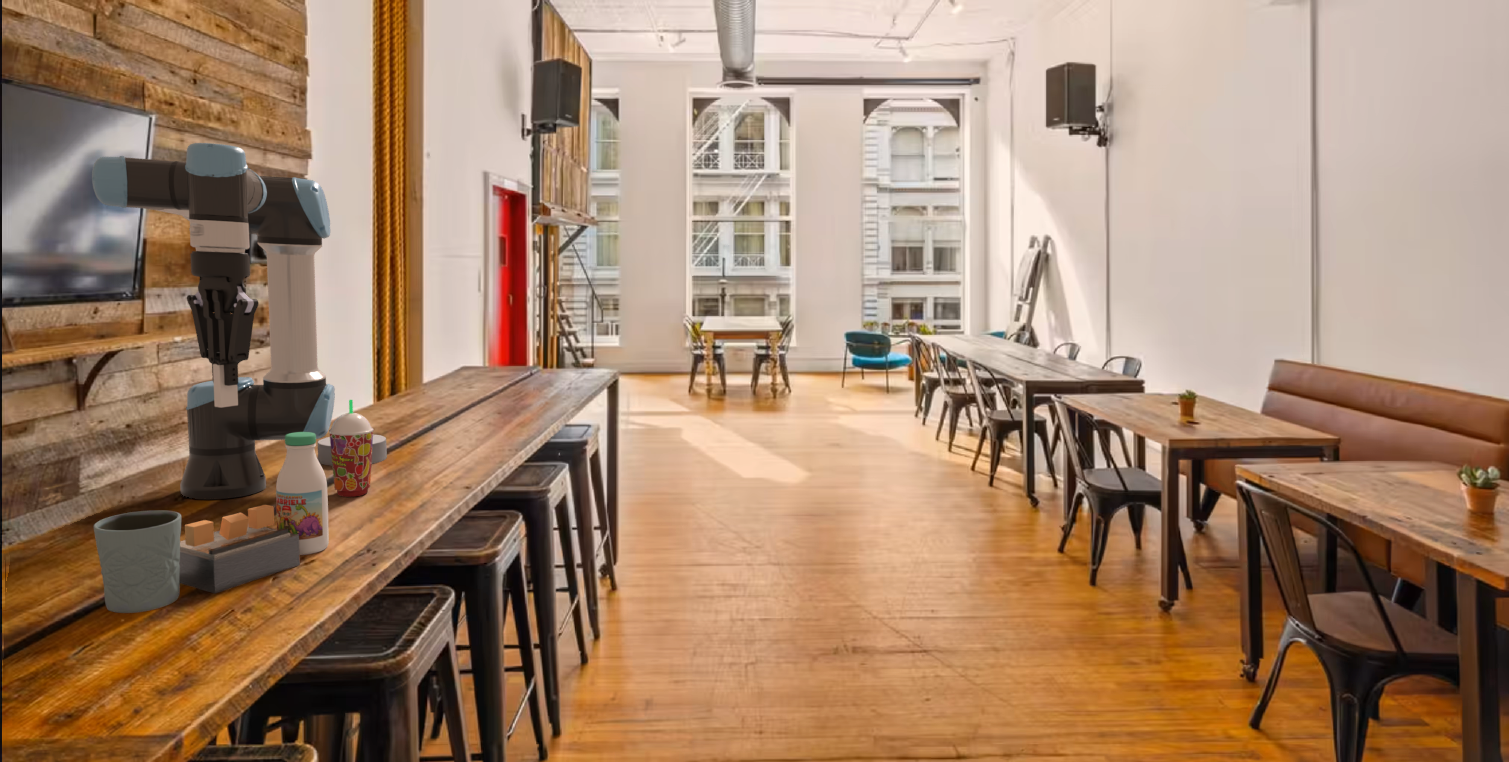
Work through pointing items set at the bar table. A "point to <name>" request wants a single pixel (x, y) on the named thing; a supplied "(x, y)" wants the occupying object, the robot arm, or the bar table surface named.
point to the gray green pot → (139, 559)
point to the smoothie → (351, 453)
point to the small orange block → (234, 526)
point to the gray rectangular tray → (237, 559)
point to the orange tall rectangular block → (199, 533)
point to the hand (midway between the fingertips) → (226, 405)
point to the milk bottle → (303, 494)
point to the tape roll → (377, 450)
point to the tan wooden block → (261, 516)
